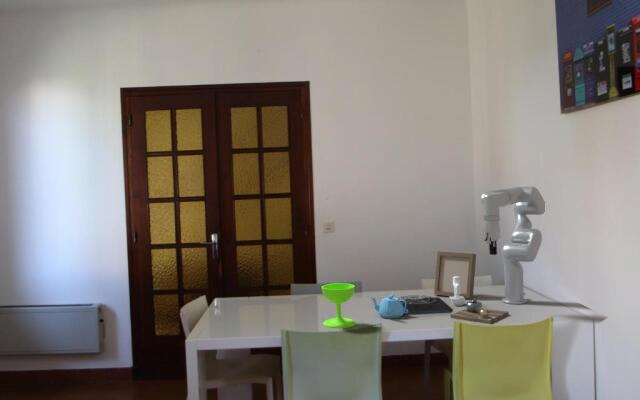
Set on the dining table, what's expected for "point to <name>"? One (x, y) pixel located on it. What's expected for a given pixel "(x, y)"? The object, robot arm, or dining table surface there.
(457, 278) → the figurine
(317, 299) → the dining table surface
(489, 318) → the stand board
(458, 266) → the photo frame
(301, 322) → the dining table surface
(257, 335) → the dining table surface
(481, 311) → the grey metal elongated piece
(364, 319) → the dining table surface
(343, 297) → the wineglass
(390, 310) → the teapot
